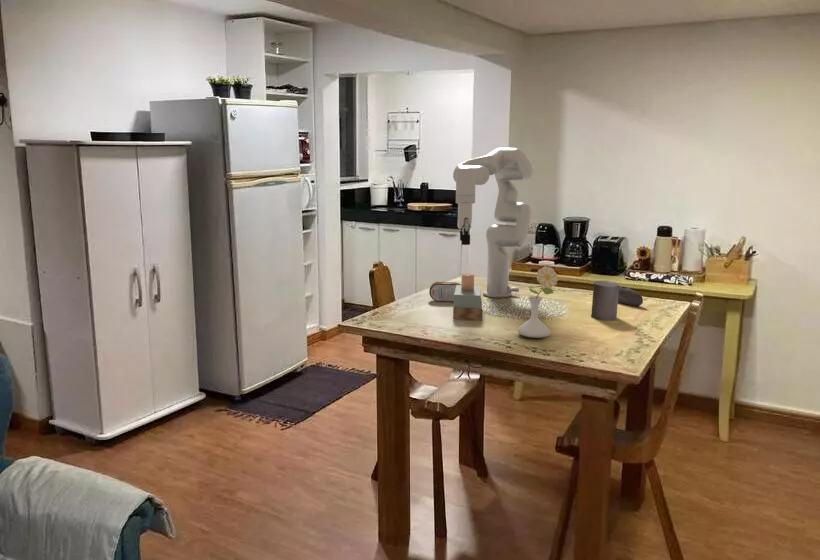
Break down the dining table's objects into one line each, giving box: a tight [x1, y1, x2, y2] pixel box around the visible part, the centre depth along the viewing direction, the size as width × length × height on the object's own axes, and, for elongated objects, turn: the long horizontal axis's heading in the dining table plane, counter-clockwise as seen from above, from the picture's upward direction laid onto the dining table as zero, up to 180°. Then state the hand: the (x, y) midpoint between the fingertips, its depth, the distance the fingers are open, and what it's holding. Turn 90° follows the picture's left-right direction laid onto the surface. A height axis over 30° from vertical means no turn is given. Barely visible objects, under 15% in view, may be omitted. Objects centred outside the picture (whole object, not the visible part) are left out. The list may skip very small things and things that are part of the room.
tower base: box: [452, 298, 483, 321], centre depth 263 cm, size 11×19×5 cm, turn 175°
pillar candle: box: [590, 279, 620, 321], centre depth 259 cm, size 10×10×15 cm
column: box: [460, 273, 475, 291], centre depth 261 cm, size 5×5×6 cm
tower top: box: [453, 285, 482, 308], centre depth 262 cm, size 10×18×5 cm, turn 173°
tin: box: [428, 281, 461, 303], centre depth 284 cm, size 15×3×8 cm, turn 84°
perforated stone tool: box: [618, 285, 644, 307], centre depth 282 cm, size 15×5×7 cm, turn 29°
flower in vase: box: [516, 265, 559, 339], centre depth 231 cm, size 13×11×25 cm
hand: (464, 242), depth 263 cm, fingers open, 9 cm apart
